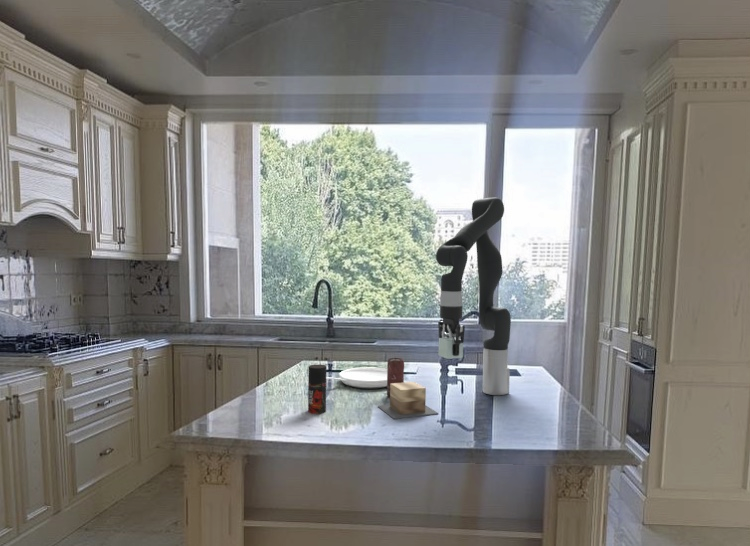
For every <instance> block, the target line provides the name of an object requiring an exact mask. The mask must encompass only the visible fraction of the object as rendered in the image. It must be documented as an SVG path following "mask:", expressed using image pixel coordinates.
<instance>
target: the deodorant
mask: <svg viewBox="0 0 750 546" xmlns="http://www.w3.org/2000/svg"><path fill="white" fill-rule="evenodd" d="M326 377H327V365H324V364H310V365H308V380H307V382H308V387H307V388H308V389H307V391H308V392H307V393H308V394H307V400H308V402H307V413H308V414H313V415H316V414H317V415H319V414H324V413H326V412H327V379H326Z"/></svg>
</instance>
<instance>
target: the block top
mask: <svg viewBox="0 0 750 546" xmlns="http://www.w3.org/2000/svg"><path fill="white" fill-rule="evenodd" d="M426 390H427V389H426V387H424V386H423V385H421V384H419V383H417V382H416V381H404V383H391V384H390V395H391V396H392V397H394V398H395V399H397V400H398V401H399V402H410V401H420V400H426V401H427V399H426V397H427V395H426V392H427V391H426Z"/></svg>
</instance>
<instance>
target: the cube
mask: <svg viewBox="0 0 750 546" xmlns="http://www.w3.org/2000/svg"><path fill="white" fill-rule="evenodd" d="M455 339H456V338H455ZM460 340H461V338H460ZM452 348H453V343H452V339H451V338H439V337H438V356H439V357H442V358H444V359H446V360H450V359H461V358H464V342H463V343H461V344H460V345H459V355H458V356H453V355H452Z"/></svg>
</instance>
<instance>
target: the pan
mask: <svg viewBox="0 0 750 546" xmlns="http://www.w3.org/2000/svg"><path fill="white" fill-rule="evenodd" d="M338 376H339V377H331V376H326V380H334V381H335V380H336V381H337V380H338V381H341V382H342V383H343V384H344V385H346V386H348V387H351V388H352V387H353V388H357V389H365V390H366V389H367V390H368V389H369V390H370V389H381V388H382V389H384V388H387V368H384V367H374V366H373V367H370V366H368V367H366V366H365V367H364V366H363V367H352V368H347V369H344V370H341V372H339V373H338Z"/></svg>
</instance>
